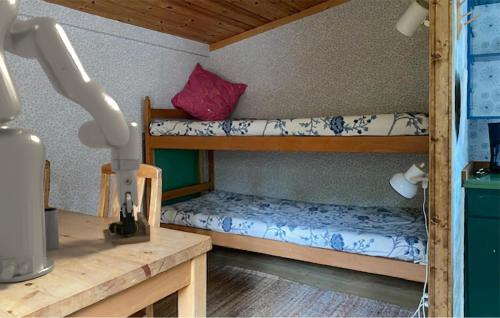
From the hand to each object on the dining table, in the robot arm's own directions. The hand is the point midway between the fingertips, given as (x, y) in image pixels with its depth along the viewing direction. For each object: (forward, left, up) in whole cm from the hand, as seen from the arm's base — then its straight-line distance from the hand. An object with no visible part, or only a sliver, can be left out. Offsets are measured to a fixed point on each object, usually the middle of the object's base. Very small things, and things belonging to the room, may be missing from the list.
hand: (127, 227), depth 105 cm
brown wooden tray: (+6, -1, -4) cm, 7 cm away
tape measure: (0, +1, -2) cm, 2 cm away
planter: (+2, +20, -4) cm, 20 cm away
